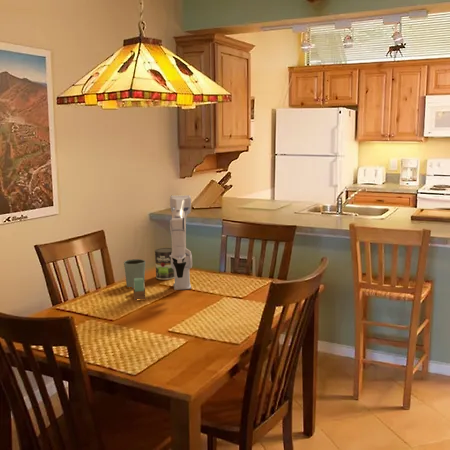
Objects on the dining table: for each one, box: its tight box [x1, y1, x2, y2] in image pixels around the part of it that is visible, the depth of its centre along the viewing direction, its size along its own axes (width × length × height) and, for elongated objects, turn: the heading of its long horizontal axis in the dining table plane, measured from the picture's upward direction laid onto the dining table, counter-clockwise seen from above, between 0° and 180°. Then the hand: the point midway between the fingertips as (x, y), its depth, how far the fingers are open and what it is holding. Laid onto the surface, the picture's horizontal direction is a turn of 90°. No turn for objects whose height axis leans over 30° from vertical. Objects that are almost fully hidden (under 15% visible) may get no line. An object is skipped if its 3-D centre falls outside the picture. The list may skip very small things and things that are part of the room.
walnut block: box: [133, 287, 146, 301], centre depth 245 cm, size 5×5×4 cm
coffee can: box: [154, 247, 175, 281], centre depth 278 cm, size 10×10×14 cm
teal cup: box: [123, 258, 146, 289], centre depth 265 cm, size 10×10×12 cm
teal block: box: [133, 278, 145, 292], centre depth 244 cm, size 4×4×5 cm
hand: (179, 275), depth 243 cm, fingers open, 7 cm apart
